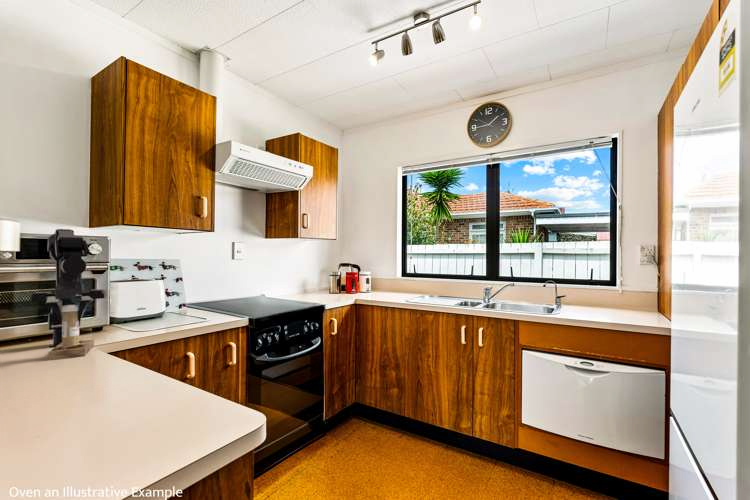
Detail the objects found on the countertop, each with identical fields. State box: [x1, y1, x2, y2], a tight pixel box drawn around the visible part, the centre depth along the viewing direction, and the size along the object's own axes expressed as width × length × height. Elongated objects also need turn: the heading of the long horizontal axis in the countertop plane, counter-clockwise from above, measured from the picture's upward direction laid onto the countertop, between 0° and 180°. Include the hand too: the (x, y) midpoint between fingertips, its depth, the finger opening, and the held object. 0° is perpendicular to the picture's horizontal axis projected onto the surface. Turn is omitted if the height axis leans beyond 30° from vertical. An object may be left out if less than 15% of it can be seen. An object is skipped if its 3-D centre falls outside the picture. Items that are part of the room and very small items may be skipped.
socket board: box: [48, 338, 95, 361], centre depth 122 cm, size 9×16×2 cm, turn 29°
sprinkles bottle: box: [62, 304, 80, 347], centre depth 119 cm, size 5×5×14 cm
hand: (70, 321), depth 119 cm, fingers closed on sprinkles bottle, 4 cm apart
